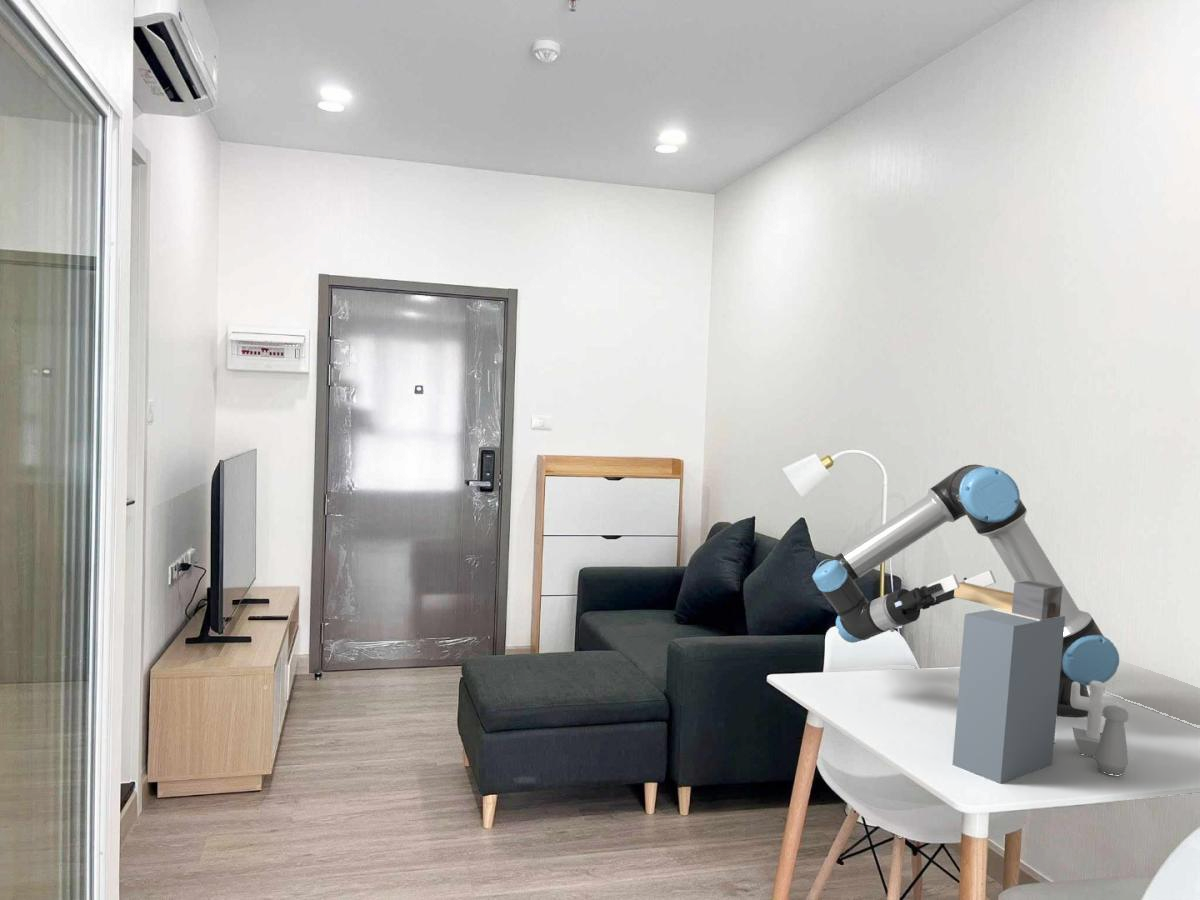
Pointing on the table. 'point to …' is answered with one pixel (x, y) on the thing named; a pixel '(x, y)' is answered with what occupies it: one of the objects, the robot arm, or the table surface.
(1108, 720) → the salt shaker
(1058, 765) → the table surface
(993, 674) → the tall grey pillar
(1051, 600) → the hammer
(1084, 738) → the figurine
